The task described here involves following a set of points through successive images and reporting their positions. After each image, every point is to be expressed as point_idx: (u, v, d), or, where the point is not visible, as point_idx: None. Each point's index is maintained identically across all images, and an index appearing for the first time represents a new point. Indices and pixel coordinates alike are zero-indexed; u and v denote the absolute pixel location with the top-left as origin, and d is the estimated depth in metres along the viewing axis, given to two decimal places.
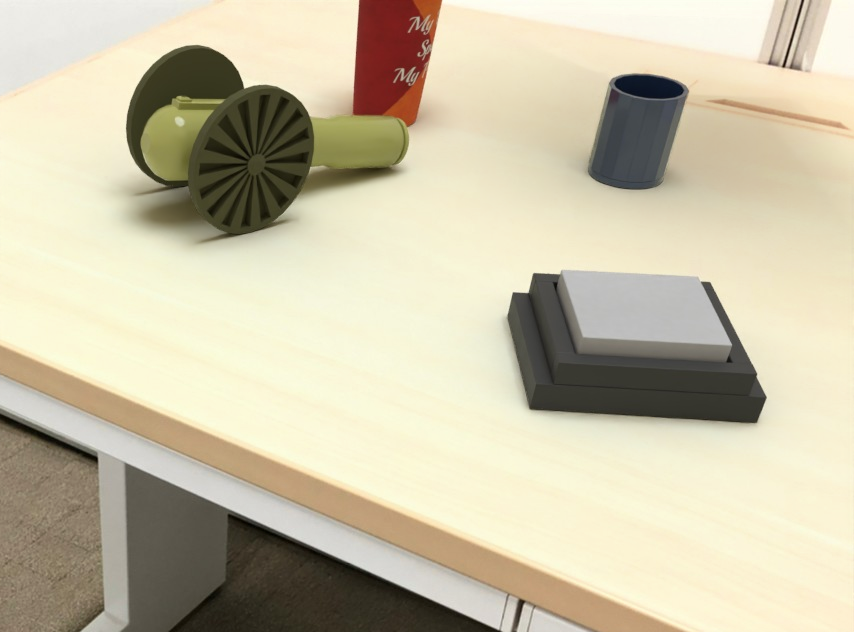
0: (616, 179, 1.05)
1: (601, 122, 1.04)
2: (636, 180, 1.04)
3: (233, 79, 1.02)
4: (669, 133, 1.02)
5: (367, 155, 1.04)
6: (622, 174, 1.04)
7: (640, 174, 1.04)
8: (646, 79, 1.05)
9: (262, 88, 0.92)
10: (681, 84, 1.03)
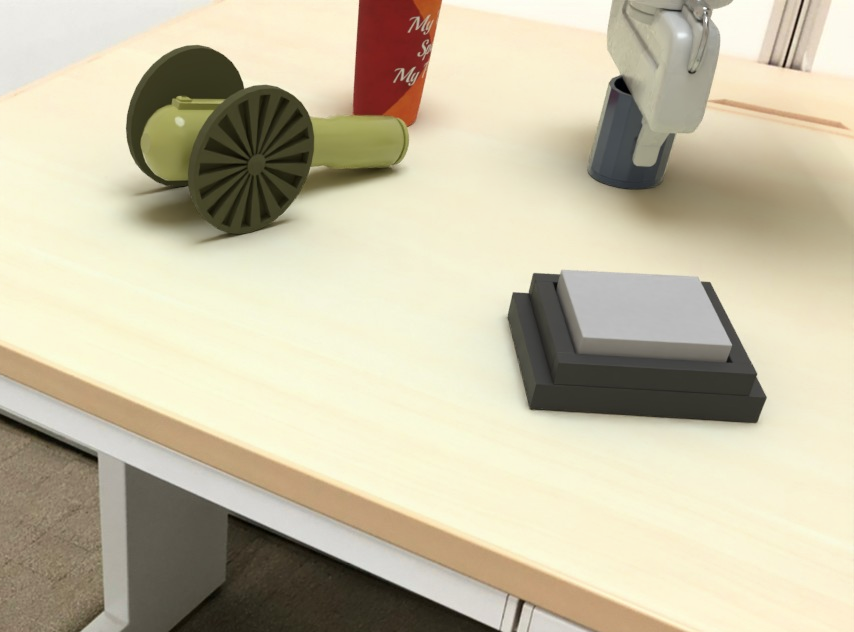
0: (616, 179, 1.05)
1: (601, 122, 1.04)
2: (636, 180, 1.04)
3: (233, 79, 1.02)
4: (669, 133, 1.02)
5: (367, 155, 1.04)
6: (622, 174, 1.04)
7: (640, 174, 1.04)
8: None
9: (262, 88, 0.92)
10: None
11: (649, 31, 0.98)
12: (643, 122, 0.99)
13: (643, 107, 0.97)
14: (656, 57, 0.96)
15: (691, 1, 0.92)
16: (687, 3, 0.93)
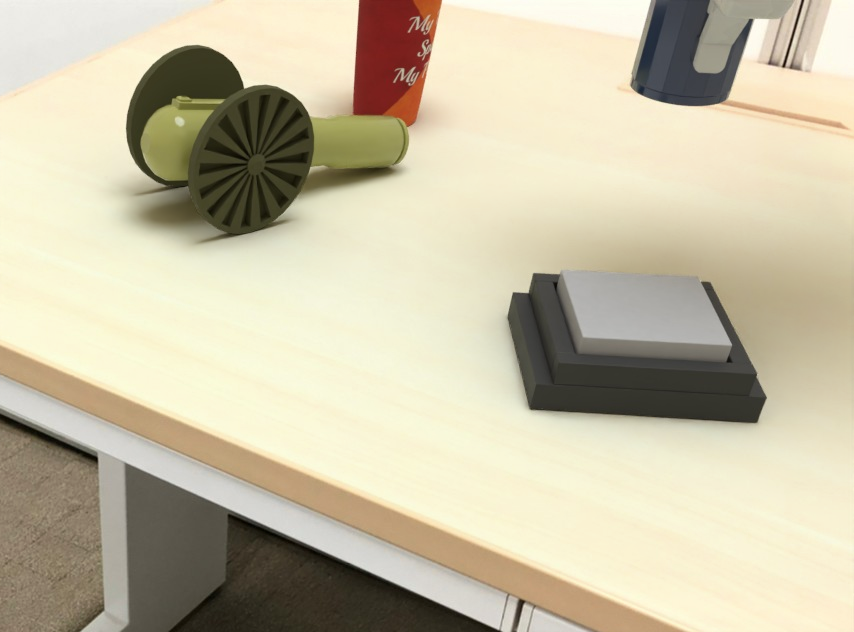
0: (668, 93, 0.79)
1: (649, 17, 0.79)
2: (695, 94, 0.79)
3: (233, 79, 1.02)
4: None
5: (367, 155, 1.04)
6: (677, 86, 0.79)
7: (701, 86, 0.78)
8: None
9: (262, 88, 0.92)
10: None
11: None
12: (710, 10, 0.74)
13: None
14: None
15: None
16: None
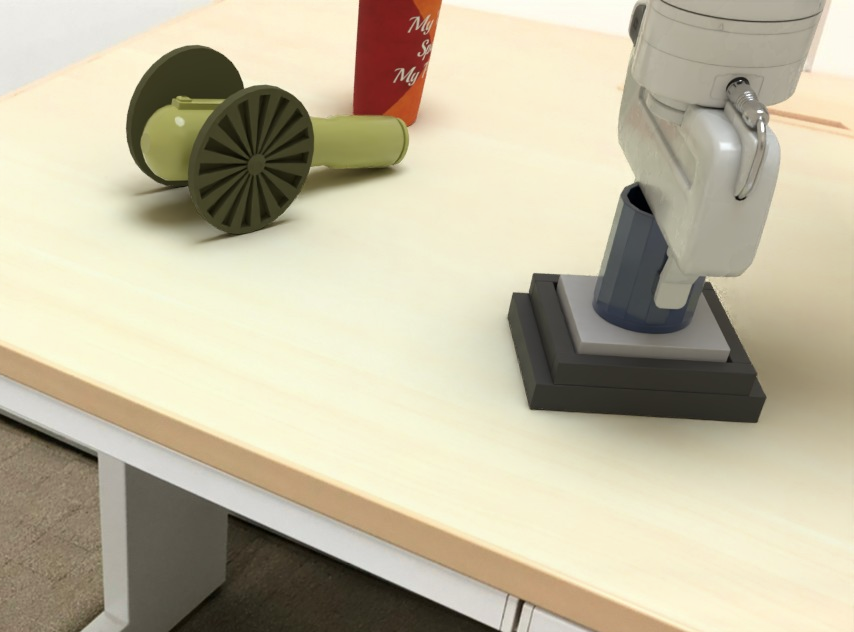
0: (630, 321, 0.78)
1: (610, 245, 0.78)
2: (657, 323, 0.78)
3: (233, 79, 1.02)
4: None
5: (367, 155, 1.04)
6: (638, 315, 0.78)
7: (662, 316, 0.77)
8: None
9: (262, 88, 0.92)
10: None
11: (677, 132, 0.72)
12: (669, 254, 0.73)
13: (670, 237, 0.71)
14: (689, 171, 0.69)
15: (739, 99, 0.65)
16: (733, 101, 0.66)
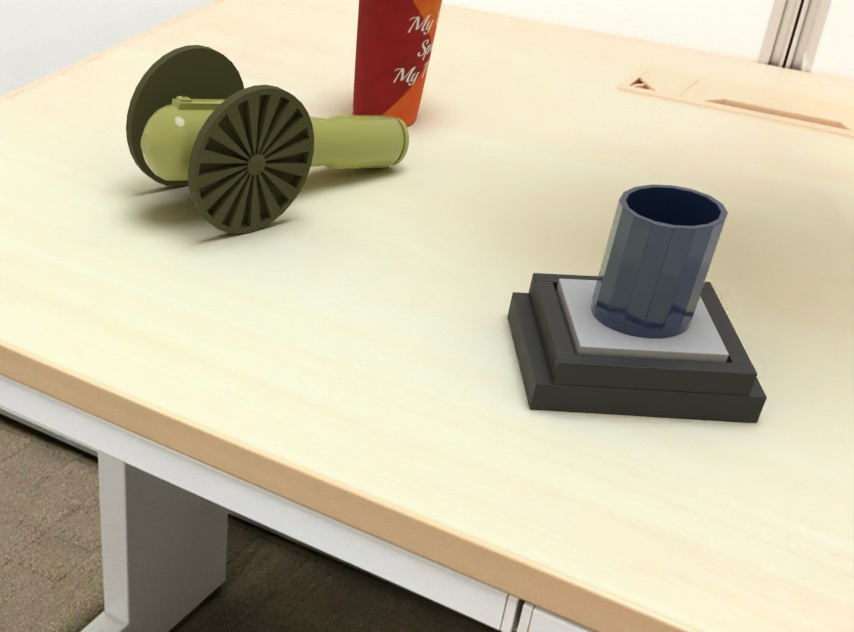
0: (629, 325, 0.79)
1: (609, 250, 0.78)
2: (655, 328, 0.78)
3: (233, 79, 1.02)
4: (700, 269, 0.76)
5: (366, 155, 1.04)
6: (637, 320, 0.78)
7: (661, 320, 0.78)
8: (669, 193, 0.78)
9: (262, 88, 0.92)
10: (717, 201, 0.76)
11: None
12: None
13: None
14: None
15: None
16: None
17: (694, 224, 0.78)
